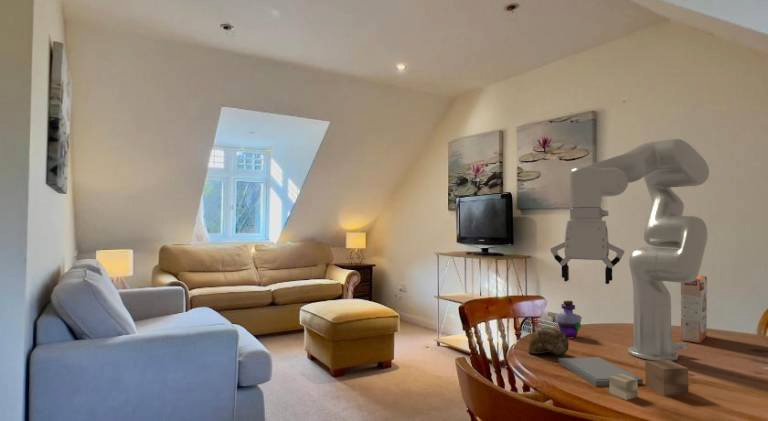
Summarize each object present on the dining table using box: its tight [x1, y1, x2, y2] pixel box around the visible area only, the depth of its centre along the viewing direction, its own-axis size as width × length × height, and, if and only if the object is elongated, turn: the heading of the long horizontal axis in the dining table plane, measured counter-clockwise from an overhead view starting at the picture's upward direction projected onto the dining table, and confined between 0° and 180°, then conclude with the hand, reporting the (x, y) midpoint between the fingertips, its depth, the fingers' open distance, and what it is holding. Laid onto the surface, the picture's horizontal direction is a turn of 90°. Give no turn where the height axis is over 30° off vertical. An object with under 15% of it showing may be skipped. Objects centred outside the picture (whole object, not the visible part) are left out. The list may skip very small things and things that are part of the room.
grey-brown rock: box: [527, 326, 570, 356], centre depth 132 cm, size 11×9×8 cm
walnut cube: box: [644, 360, 689, 397], centre depth 104 cm, size 6×6×6 cm
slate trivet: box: [557, 356, 644, 387], centre depth 116 cm, size 12×18×1 cm, turn 6°
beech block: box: [608, 374, 639, 401], centre depth 101 cm, size 4×4×4 cm
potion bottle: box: [555, 300, 583, 338], centre depth 154 cm, size 9×9×12 cm
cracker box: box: [680, 274, 708, 344], centre depth 152 cm, size 14×6×21 cm, turn 137°
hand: (586, 282), depth 115 cm, fingers open, 9 cm apart
